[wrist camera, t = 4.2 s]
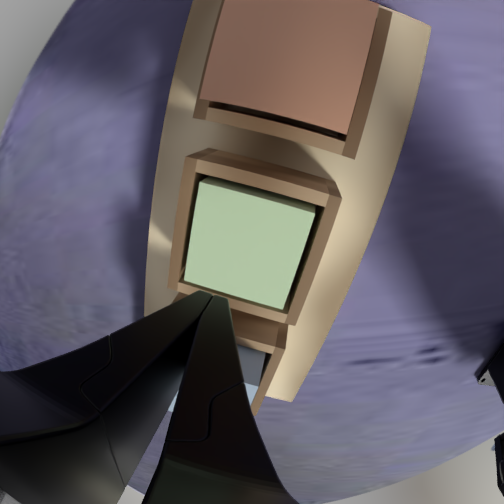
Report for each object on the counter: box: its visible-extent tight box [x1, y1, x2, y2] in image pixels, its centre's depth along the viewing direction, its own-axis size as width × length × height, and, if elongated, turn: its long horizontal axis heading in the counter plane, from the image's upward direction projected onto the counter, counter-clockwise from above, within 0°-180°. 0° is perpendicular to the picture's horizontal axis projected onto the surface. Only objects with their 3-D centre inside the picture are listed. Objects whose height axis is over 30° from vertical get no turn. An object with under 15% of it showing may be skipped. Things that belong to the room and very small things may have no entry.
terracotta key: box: [199, 0, 379, 135], centre depth 9 cm, size 4×4×3 cm
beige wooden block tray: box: [144, 0, 431, 416], centre depth 15 cm, size 11×24×5 cm, turn 167°
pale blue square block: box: [168, 344, 266, 412], centre depth 15 cm, size 4×4×3 cm
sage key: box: [184, 176, 315, 310], centre depth 14 cm, size 4×4×3 cm
